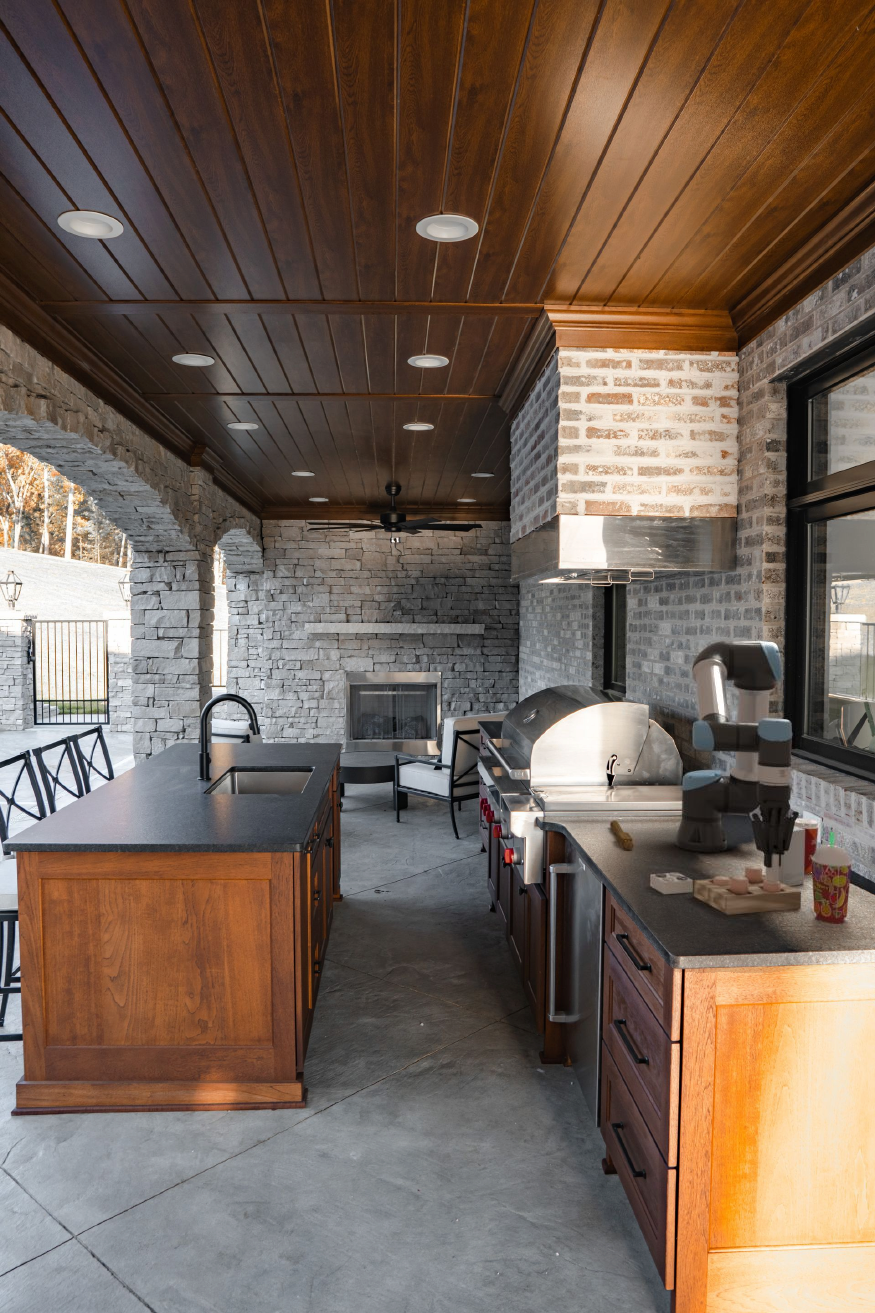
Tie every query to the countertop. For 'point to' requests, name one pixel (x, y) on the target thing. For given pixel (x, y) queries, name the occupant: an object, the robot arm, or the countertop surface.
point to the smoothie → (831, 882)
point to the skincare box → (793, 860)
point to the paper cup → (808, 840)
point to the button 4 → (771, 886)
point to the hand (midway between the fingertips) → (772, 880)
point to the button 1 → (721, 881)
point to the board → (746, 897)
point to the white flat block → (671, 883)
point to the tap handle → (622, 836)
